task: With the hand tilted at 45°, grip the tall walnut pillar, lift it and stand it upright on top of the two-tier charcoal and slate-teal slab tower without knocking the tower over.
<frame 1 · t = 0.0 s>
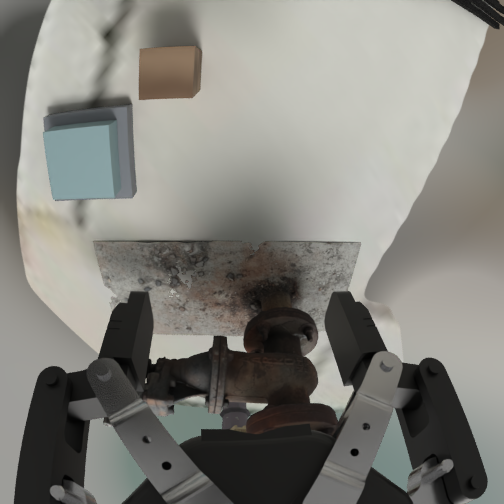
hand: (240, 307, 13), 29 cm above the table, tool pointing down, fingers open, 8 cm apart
tower base slab: (94, 150, 37), on the table
walnut pillar: (180, 70, 32), on the table
model tower: (233, 391, 70), on the table
valve: (227, 292, 52), on the table
tower top slab: (86, 156, 34), point 2 cm above the table
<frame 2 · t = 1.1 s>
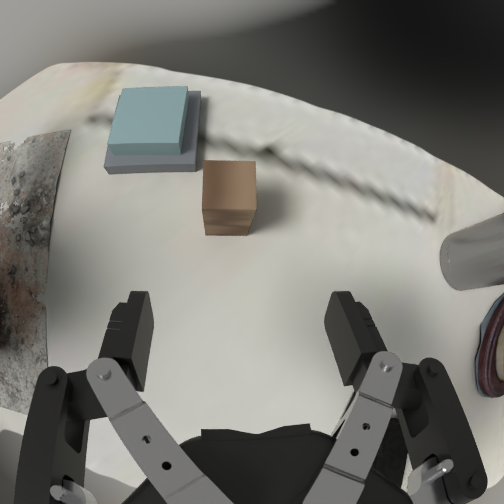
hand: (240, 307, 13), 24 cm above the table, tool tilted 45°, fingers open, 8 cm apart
tower base slab: (156, 136, 41), on the table, touching tower top slab
walnut pillar: (226, 215, 39), on the table
tower top slab: (151, 125, 38), point 2 cm above the table, touching tower base slab
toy: (376, 475, 34), on the table
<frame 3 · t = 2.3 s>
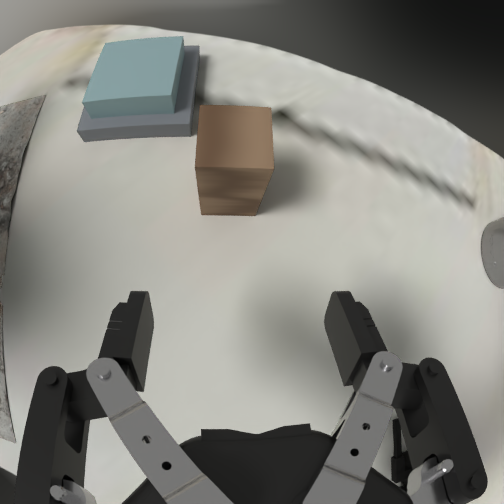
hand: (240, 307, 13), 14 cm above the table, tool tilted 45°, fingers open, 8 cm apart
tower base slab: (144, 98, 31), on the table, touching tower top slab
walnut pillar: (228, 190, 29), on the table
tower top slab: (138, 83, 28), point 2 cm above the table, touching tower base slab
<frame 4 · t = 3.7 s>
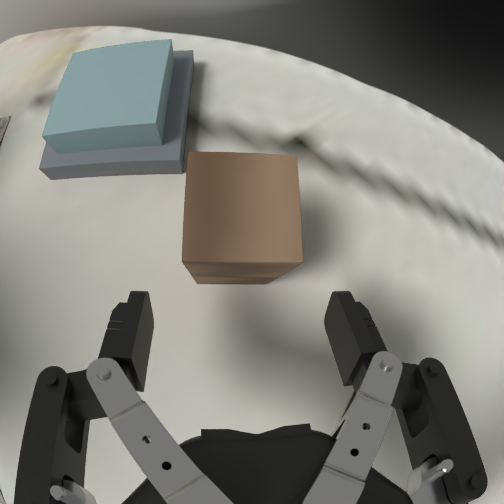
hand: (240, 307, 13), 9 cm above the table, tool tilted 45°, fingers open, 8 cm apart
tower base slab: (124, 120, 25), on the table, touching tower top slab
walnut pillar: (231, 250, 23), on the table
tower top slab: (116, 103, 22), point 2 cm above the table, touching tower base slab
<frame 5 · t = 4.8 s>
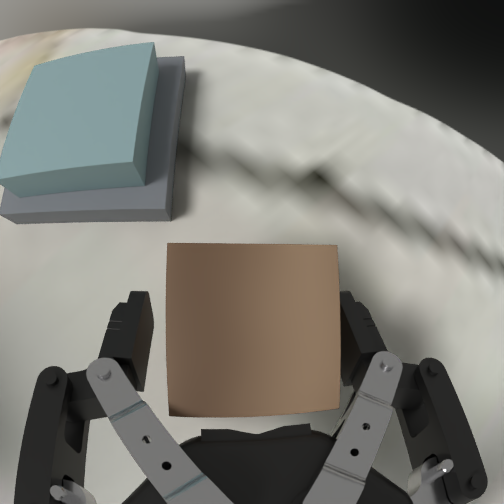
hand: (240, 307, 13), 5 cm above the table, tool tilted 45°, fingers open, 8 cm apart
tower base slab: (100, 146, 20), on the table
walnut pillar: (235, 322, 18), on the table
tower top slab: (86, 128, 17), point 2 cm above the table
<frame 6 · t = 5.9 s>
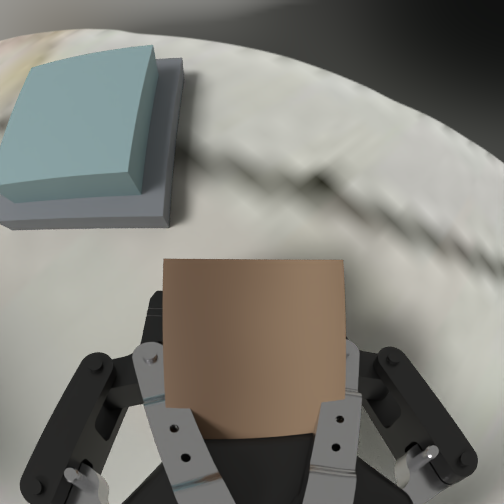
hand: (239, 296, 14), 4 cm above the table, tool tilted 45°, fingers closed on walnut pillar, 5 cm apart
tower base slab: (97, 150, 20), on the table, touching tower top slab
walnut pillar: (235, 331, 18), on the table, touching gripper
tower top slab: (83, 133, 17), point 2 cm above the table, touching tower base slab
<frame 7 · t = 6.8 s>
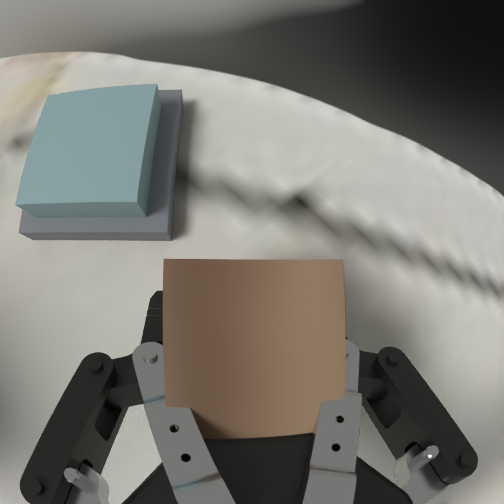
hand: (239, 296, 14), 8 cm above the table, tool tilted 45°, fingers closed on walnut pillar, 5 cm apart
tower base slab: (107, 171, 23), on the table
walnut pillar: (235, 331, 18), point 4 cm above the table, touching gripper
tower top slab: (96, 159, 20), point 2 cm above the table
when the fingers open (11 cm above the table, at t = 11.1 s): walnut pillar drops 1 cm, resting on tower top slab.
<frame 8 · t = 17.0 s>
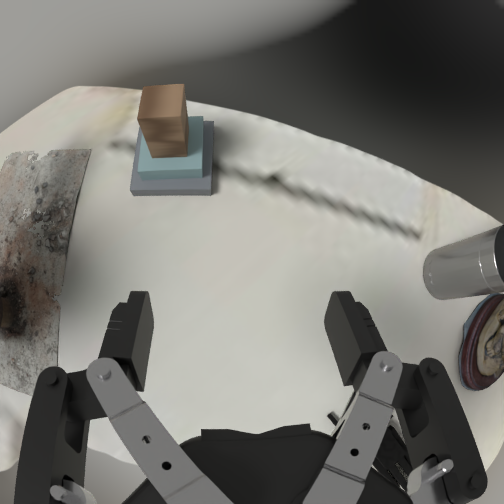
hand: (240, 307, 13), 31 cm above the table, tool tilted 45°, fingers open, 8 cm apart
tower base slab: (174, 162, 47), on the table, touching tower top slab
walnut pillar: (170, 142, 42), point 5 cm above the table, touching tower top slab
valve: (17, 266, 41), on the table
tower top slab: (173, 152, 45), point 2 cm above the table, touching tower base slab, walnut pillar
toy: (384, 452, 42), on the table
sculpture 2: (488, 341, 48), on the table
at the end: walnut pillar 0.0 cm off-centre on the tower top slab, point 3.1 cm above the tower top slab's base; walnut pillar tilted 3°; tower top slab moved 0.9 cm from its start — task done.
